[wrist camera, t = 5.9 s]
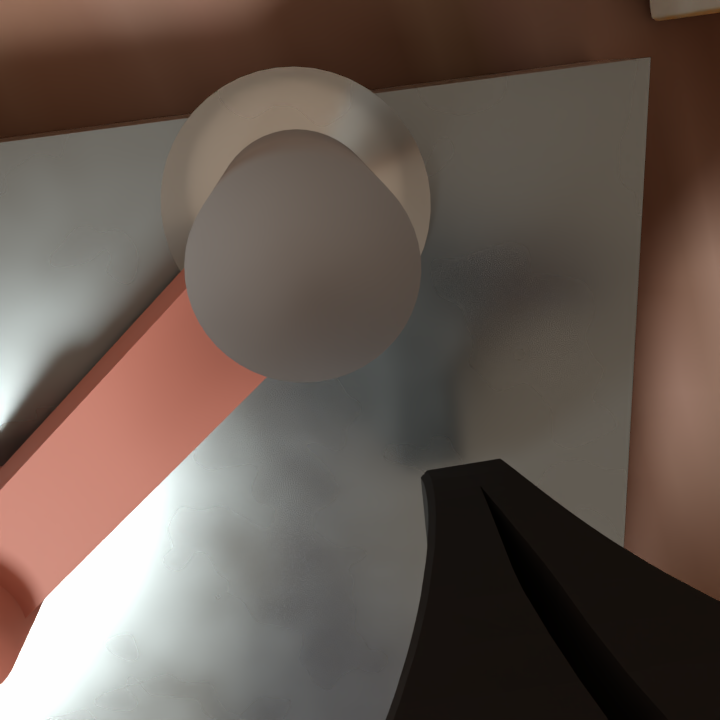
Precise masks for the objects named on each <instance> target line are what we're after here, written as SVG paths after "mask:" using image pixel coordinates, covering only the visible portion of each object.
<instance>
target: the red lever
mask: <svg viewBox="0 0 720 720" xmlns="http://www.w3.org/2000/svg"><path fill="white" fill-rule="evenodd" d="M420 280H421V256H420V249H419V243H418V240H417V237H416V233H415V230H414V227H413V225H412V223H411V221H410V219H409V216H408V214H407V213H406V211H405V210H404V208H403V206H402V205H401V203H400V202H399V200H398V199H397V198H396V197H395V196H394V194H393V193H392V192H391V191H390V190H389V189H388V188H387V187H386V185H385V184H384V183H383V182H382V181H381V180H380V179H379V178H378V177H377V176H376V175H375V174H374V173H373V172H372V171H371V170H370V169H369V168H368V166H367V165H366V164H365V163H364V162H363V161H362V160H361V159H360V158H359V157H358V156H357V155H356V154H355V153H354V152H353V151H352V150H351V149H349V148H348V147H347V146H346V145H344V144H343V143H341V142H340V141H338V140H336V139H334V138H332V137H330V136H328V135H325V134H322V133H319V132H315V131H310V130H300V129H292V130H283V131H278V132H273V133H271V134H268V135H265V136H263V137H261V138H259V139H257V140H255V141H253V142H252V143H251V144H249V145H248V146H246V147H245V148H244V149H243V150H242V151H241V152H240V153H239V154H238V155H237V156H236V157H235V158H234V159H233V161H232V162H231V163H230V164H229V166H228V167H227V169H226V171H225V172H224V174H223V175H222V177H221V178H220V180H219V181H218V183H217V184H216V186H215V187H214V189H213V190H212V192H211V194H210V195H209V197H208V198H207V200H206V201H205V203H204V204H203V206H202V208H201V210H200V211H199V213H198V215H197V217H196V218H195V221H194V223H193V226H192V228H191V231H190V233H189V237H188V241H187V245H186V251H185V261H184V269H183V270H182V271H181V272H180V273H179V274H178V275H177V276H176V277H175V278H174V279H173V281H172V282H171V283H170V284H169V285H168V286H167V287H166V288H165V289H164V290H163V292H162V293H161V294H160V295H159V296H158V297H157V298H156V299H155V300H154V301H153V302H152V304H151V305H150V306H149V307H148V308H147V309H146V310H145V311H144V312H143V313H142V314H141V316H140V317H139V318H138V319H137V320H136V321H135V322H134V323H133V324H132V325H131V327H130V328H129V329H128V330H127V331H126V332H125V333H124V334H123V335H122V336H121V337H120V339H119V340H118V341H117V342H116V343H115V344H114V345H113V346H112V347H111V348H110V350H109V351H108V352H107V353H106V354H105V355H104V356H103V357H102V358H101V359H100V360H99V362H98V363H97V364H96V365H95V366H94V367H93V368H92V369H91V370H90V371H89V372H88V374H87V375H86V376H85V377H84V378H83V379H82V380H81V381H80V382H79V383H78V385H77V386H76V387H75V388H74V389H73V390H72V391H71V392H70V393H69V394H68V395H67V397H66V398H65V399H64V400H63V401H62V402H61V403H60V404H59V405H58V406H57V408H56V409H55V410H54V411H53V412H52V413H51V414H50V415H49V416H48V417H47V418H46V420H45V421H44V422H43V423H42V424H41V425H40V426H39V427H38V428H37V429H36V430H35V432H34V433H33V434H32V435H31V436H30V437H29V438H28V439H27V440H26V441H25V443H24V444H23V445H22V446H21V447H20V448H19V449H18V450H17V451H16V452H15V453H14V455H13V456H12V457H11V458H10V459H9V460H8V461H7V462H6V463H5V464H4V465H3V466H0V685H1V684H2V683H3V682H4V681H5V680H6V679H7V678H8V676H9V674H10V673H11V671H12V669H13V667H14V665H15V663H16V661H17V658H18V656H19V654H20V652H21V650H22V648H23V645H24V643H25V641H26V639H27V637H28V635H29V632H30V630H31V628H32V626H33V624H34V622H35V619H36V617H37V615H38V613H39V611H40V609H41V606H42V604H43V602H44V600H45V598H46V597H47V596H48V595H49V594H50V593H51V592H52V591H53V590H54V589H55V588H56V587H57V586H58V585H59V584H60V583H61V582H62V581H63V580H64V579H65V578H66V577H67V576H68V575H69V574H70V573H71V572H72V571H73V570H74V569H75V568H76V567H77V566H78V565H79V564H80V563H81V562H82V561H83V560H84V559H85V558H86V557H87V556H88V555H89V554H90V553H91V552H92V551H93V550H94V549H95V548H96V547H97V546H98V545H99V544H100V543H101V542H102V541H103V540H104V539H105V538H106V537H107V536H108V535H109V534H110V533H111V532H112V531H113V530H114V529H115V528H116V527H117V526H118V525H119V524H120V523H121V522H122V521H123V520H124V519H125V518H126V517H127V516H128V515H129V514H130V513H131V512H132V511H133V510H134V509H135V508H136V507H137V506H138V505H139V504H140V503H141V502H142V501H143V500H144V499H145V498H146V497H147V496H148V495H149V494H150V493H151V492H152V491H153V490H154V489H155V488H156V487H157V486H158V485H159V484H160V483H161V482H162V481H163V480H164V479H165V478H166V477H167V476H168V475H169V474H170V473H171V472H172V471H173V470H174V469H175V468H176V467H177V466H178V465H179V464H180V463H181V462H182V461H183V460H184V459H185V458H186V457H187V456H188V455H189V454H190V453H191V452H192V451H193V450H194V449H195V448H196V447H197V446H198V445H199V444H200V443H201V442H202V441H203V440H204V439H205V438H206V437H207V436H208V435H209V434H210V433H211V432H212V431H213V430H214V429H215V428H216V427H217V426H218V425H219V424H220V423H221V422H222V421H223V420H224V419H225V418H226V417H227V416H228V415H229V414H230V413H231V412H232V411H233V410H234V409H235V408H236V407H237V406H238V405H239V404H240V403H241V402H242V401H243V400H244V399H245V398H246V397H247V396H248V395H249V394H250V393H251V392H252V391H253V390H254V389H255V388H256V387H257V386H258V385H259V384H260V383H261V382H262V381H263V380H264V379H265V378H266V377H269V378H273V379H276V380H281V381H288V382H307V383H309V382H319V381H325V380H330V379H334V378H338V377H341V376H344V375H347V374H349V373H352V372H354V371H356V370H358V369H360V368H362V367H364V366H365V365H367V364H368V363H370V362H371V361H373V360H374V359H376V358H377V357H378V356H379V355H381V354H382V353H383V352H384V351H385V350H386V349H387V348H388V347H389V346H390V345H391V344H392V343H393V342H394V341H395V340H396V338H397V337H398V336H399V334H400V333H401V331H402V330H403V329H404V327H405V325H406V323H407V322H408V320H409V318H410V316H411V314H412V311H413V309H414V306H415V303H416V300H417V296H418V292H419V288H420Z"/></svg>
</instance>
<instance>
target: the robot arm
mask: <svg viewBox="0 0 720 720" xmlns="http://www.w3.org/2000/svg"><path fill="white" fill-rule="evenodd" d="M421 485H422V496H423V506H424V516H425V527H426V537H427V554H426V563H425V570H424V576H423V583H422V590H421V596H420V602H419V607H418V611H417V616H416V621H415V625H414V629H413V633H412V637H411V641H410V645H409V649H408V653H407V656H406V659H405V663H404V666H403V669H402V672H401V676H400V679H399V682H398V686H397V689H396V692H395V695H394V698H393V701H392V704H391V706H390V709H389V712H388V715H387V717H386V720H720V601H718V600H716V599H714V598H712V597H710V596H708V595H706V594H704V593H702V592H700V591H698V590H697V589H695V588H693V587H691V586H689V585H687V584H685V583H683V582H681V581H680V580H678V579H676V578H674V577H672V576H670V575H668V574H666V573H665V572H663V571H661V570H660V569H658V568H656V567H654V566H653V565H651V564H649V563H647V562H646V561H644V560H642V559H641V558H639V557H638V556H636V555H634V554H633V553H631V552H630V551H628V550H626V549H625V548H623V547H622V546H620V545H618V544H617V543H615V542H614V541H612V540H610V539H609V538H608V537H606V536H605V535H603V534H602V533H600V532H599V531H597V530H596V529H594V528H593V527H591V526H590V525H588V524H587V523H585V522H584V521H583V520H581V519H580V518H578V517H577V516H576V515H574V514H573V513H571V512H570V511H569V510H567V509H566V508H564V507H563V506H562V505H560V504H559V503H558V502H556V501H555V500H554V499H552V498H551V497H550V496H549V495H547V494H546V493H545V492H543V491H542V490H541V489H539V488H538V487H537V486H535V485H534V484H533V483H532V482H530V481H529V480H528V479H526V478H525V477H524V476H523V475H521V474H520V473H519V472H517V471H516V470H515V469H514V468H512V467H511V466H510V465H508V464H507V463H506V462H504V461H503V460H502V459H494V460H488V461H481V462H475V463H469V464H463V465H457V466H450V467H444V468H438V469H432V470H427V471H426V472H425V473H424V474H423V475H422V477H421Z"/></svg>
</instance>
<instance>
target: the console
mask: <svg viewBox="0 0 720 720" xmlns="http://www.w3.org/2000/svg"><path fill="white" fill-rule="evenodd" d="M650 61H651V57H647V58H631V59H614V60H598V61H587V62H580V63H572V64H564V65H557V66H549V67H541V68H534V69H526V70H519V71H511V72H503V73H496V74H488V75H480V76H473V77H465V78H457V79H450V80H442V81H434V82H427V83H419V84H412V85H404V86H396V87H389V88H381V89H373V90H368V89H367V88H365V87H364V86H362V85H360V84H358V83H356V82H354V81H353V80H351V79H348V78H346V77H343V76H341V75H338V74H335V73H333V72H328V71H324V70H320V69H316V68H306V67H278V68H272V69H267V70H262V71H257V72H254V73H251V74H249V75H246V76H243V77H240V78H238V79H236V80H234V81H232V82H231V83H229V84H227V85H225V86H223V87H221V88H220V89H219V90H217V91H216V92H215V93H213V94H212V95H211V96H209V97H208V98H207V99H206V100H205V101H204V102H203V103H202V104H201V105H200V106H199V107H198V108H196V109H195V110H194V112H193V113H190V114H182V115H175V116H167V117H159V118H152V119H144V120H136V121H129V122H121V123H114V124H106V125H98V126H91V127H83V128H75V129H68V130H60V131H52V132H45V133H37V134H29V135H22V136H14V137H7V138H0V466H3V465H4V464H5V463H6V462H7V461H8V460H9V459H10V458H11V457H12V456H13V455H14V453H15V452H16V451H17V450H18V449H19V448H20V447H21V446H22V445H23V444H24V443H25V441H26V440H27V439H28V438H29V437H30V436H31V435H32V434H33V433H34V432H35V430H36V429H37V428H38V427H39V426H40V425H41V424H42V423H43V422H44V421H45V420H46V418H47V417H48V416H49V415H50V414H51V413H52V412H53V411H54V410H55V409H56V408H57V406H58V405H59V404H60V403H61V402H62V401H63V400H64V399H65V398H66V397H67V395H68V394H69V393H70V392H71V391H72V390H73V389H74V388H75V387H76V386H77V385H78V383H79V382H80V381H81V380H82V379H83V378H84V377H85V376H86V375H87V374H88V372H89V371H90V370H91V369H92V368H93V367H94V366H95V365H96V364H97V363H98V362H99V360H100V359H101V358H102V357H103V356H104V355H105V354H106V353H107V352H108V351H109V350H110V348H111V347H112V346H113V345H114V344H115V343H116V342H117V341H118V340H119V339H120V337H121V336H122V335H123V334H124V333H125V332H126V331H127V330H128V329H129V328H130V327H131V325H132V324H133V323H134V322H135V321H136V320H137V319H138V318H139V317H140V316H141V314H142V313H143V312H144V311H145V310H146V309H147V308H148V307H149V306H150V305H151V304H152V302H153V301H154V300H155V299H156V298H157V297H158V296H159V295H160V294H161V293H162V292H163V290H164V289H165V288H166V287H167V286H168V285H169V284H170V283H171V282H172V281H173V279H174V278H175V277H176V276H177V275H178V274H179V273H180V272H181V271H182V270H183V269H184V261H185V251H186V245H187V241H188V237H189V233H190V231H191V228H192V226H193V223H194V221H195V218H196V217H197V215H198V213H199V211H200V210H201V208H202V206H203V204H204V203H205V201H206V200H207V198H208V197H209V195H210V194H211V192H212V190H213V189H214V187H215V186H216V184H217V183H218V181H219V180H220V178H221V177H222V175H223V174H224V172H225V171H226V169H227V167H228V166H229V164H230V163H231V162H232V161H233V159H234V158H235V157H236V156H237V155H238V154H239V153H240V152H241V151H242V150H243V149H244V148H245V147H246V146H248V145H249V144H251V143H252V142H253V141H255V140H257V139H259V138H261V137H263V136H265V135H268V134H271V133H273V132H278V131H283V130H292V129H300V130H310V131H315V132H319V133H322V134H325V135H328V136H330V137H332V138H334V139H336V140H338V141H340V142H341V143H343V144H344V145H346V146H347V147H348V148H349V149H351V150H352V151H353V152H354V153H355V154H356V155H357V156H358V157H359V158H360V159H361V160H362V161H363V162H364V163H365V164H366V165H367V166H368V168H369V169H370V170H371V171H372V172H373V173H374V174H375V175H376V176H377V177H378V178H379V179H380V180H381V181H382V182H383V183H384V184H385V185H386V187H387V188H388V189H389V190H390V191H391V192H392V193H393V194H394V196H395V197H396V198H397V199H398V200H399V202H400V203H401V205H402V206H403V208H404V210H405V211H406V213H407V214H408V216H409V219H410V221H411V223H412V225H413V227H414V230H415V233H416V237H417V240H418V243H419V249H420V256H421V280H420V288H419V292H418V296H417V300H416V303H415V306H414V309H413V311H412V314H411V316H410V318H409V320H408V322H407V323H406V325H405V327H404V329H403V330H402V331H401V333H400V334H399V336H398V337H397V338H396V340H395V341H394V342H393V343H392V344H391V345H390V346H389V347H388V348H387V349H386V350H385V351H384V352H383V353H382V354H381V355H379V356H378V357H377V358H376V359H374V360H373V361H371V362H370V363H368V364H367V365H365V366H364V367H362V368H360V369H358V370H356V371H354V372H352V373H349V374H347V375H344V376H341V377H338V378H334V379H330V380H325V381H319V382H309V383H307V382H288V381H281V380H276V379H273V378H269V377H266V378H265V379H264V380H263V381H262V382H261V383H260V384H259V385H258V386H257V387H256V388H255V389H254V390H253V391H252V392H251V393H250V394H249V395H248V396H247V397H246V398H245V399H244V400H243V401H242V402H241V403H240V404H239V405H238V406H237V407H236V408H235V409H234V410H233V411H232V412H231V413H230V414H229V415H228V416H227V417H226V418H225V419H224V420H223V421H222V422H221V423H220V424H219V425H218V426H217V427H216V428H215V429H214V430H213V431H212V432H211V433H210V434H209V435H208V436H207V437H206V438H205V439H204V440H203V441H202V442H201V443H200V444H199V445H198V446H197V447H196V448H195V449H194V450H193V451H192V452H191V453H190V454H189V455H188V456H187V457H186V458H185V459H184V460H183V461H182V462H181V463H180V464H179V465H178V466H177V467H176V468H175V469H174V470H173V471H172V472H171V473H170V474H169V475H168V476H167V477H166V478H165V479H164V480H163V481H162V482H161V483H160V484H159V485H158V486H157V487H156V488H155V489H154V490H153V491H152V492H151V493H150V494H149V495H148V496H147V497H146V498H145V499H144V500H143V501H142V502H141V503H140V504H139V505H138V506H137V507H136V508H135V509H134V510H133V511H132V512H131V513H130V514H129V515H128V516H127V517H126V518H125V519H124V520H123V521H122V522H121V523H120V524H119V525H118V526H117V527H116V528H115V529H114V530H113V531H112V532H111V533H110V534H109V535H108V536H107V537H106V538H105V539H104V540H103V541H102V542H101V543H100V544H99V545H98V546H97V547H96V548H95V549H94V550H93V551H92V552H91V553H90V554H89V555H88V556H87V557H86V558H85V559H84V560H83V561H82V562H81V563H80V564H79V565H78V566H77V567H76V568H75V569H74V570H73V571H72V572H71V573H70V574H69V575H68V576H67V577H66V578H65V579H64V580H63V581H62V582H61V583H60V584H59V585H58V586H57V587H56V588H55V589H54V590H53V591H52V592H51V593H50V594H49V595H48V596H47V597H46V598H45V600H44V602H43V604H42V606H41V609H40V611H39V613H38V615H37V617H36V619H35V622H34V624H33V626H32V628H31V630H30V632H29V635H28V637H27V639H26V641H25V643H24V645H23V648H22V650H21V652H20V654H19V656H18V658H17V661H16V663H15V665H14V667H13V669H12V671H11V673H10V674H9V676H8V678H7V679H6V680H5V681H4V682H3V683H2V684H1V685H0V720H386V717H387V715H388V712H389V709H390V706H391V704H392V701H393V698H394V695H395V692H396V689H397V686H398V682H399V679H400V676H401V672H402V669H403V666H404V663H405V659H406V656H407V653H408V649H409V645H410V641H411V637H412V633H413V629H414V625H415V621H416V616H417V611H418V607H419V602H420V596H421V590H422V583H423V576H424V570H425V563H426V554H427V537H426V527H425V516H424V506H423V496H422V485H421V477H422V475H423V474H424V473H425V472H426V471H427V470H432V469H438V468H444V467H450V466H457V465H463V464H469V463H475V462H481V461H488V460H494V459H502V460H503V461H504V462H506V463H507V464H508V465H510V466H511V467H512V468H514V469H515V470H516V471H517V472H519V473H520V474H521V475H523V476H524V477H525V478H526V479H528V480H529V481H530V482H532V483H533V484H534V485H535V486H537V487H538V488H539V489H541V490H542V491H543V492H545V493H546V494H547V495H549V496H550V497H551V498H552V499H554V500H555V501H556V502H558V503H559V504H560V505H562V506H563V507H564V508H566V509H567V510H569V511H570V512H571V513H573V514H574V515H576V516H577V517H578V518H580V519H581V520H583V521H584V522H585V523H587V524H588V525H590V526H591V527H593V528H594V529H596V530H597V531H599V532H600V533H602V534H603V535H605V536H606V537H608V538H609V539H610V540H612V541H614V542H615V543H617V544H618V545H620V546H622V547H623V548H624V533H625V515H626V496H627V478H628V460H629V442H630V424H631V406H632V387H633V369H634V351H635V333H636V315H637V297H638V279H639V260H640V242H641V224H642V206H643V188H644V170H645V151H646V133H647V115H648V97H649V79H650Z"/></svg>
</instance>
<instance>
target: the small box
mask: <svg viewBox="0 0 720 720" xmlns="http://www.w3.org/2000/svg"><path fill="white" fill-rule="evenodd" d="M650 9H651V16H652V18H653V19H654V20H656V21H663V20H670V19H677V18H684V17H691V16H698V15H706V14H713V13H719V12H720V0H650Z"/></svg>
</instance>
